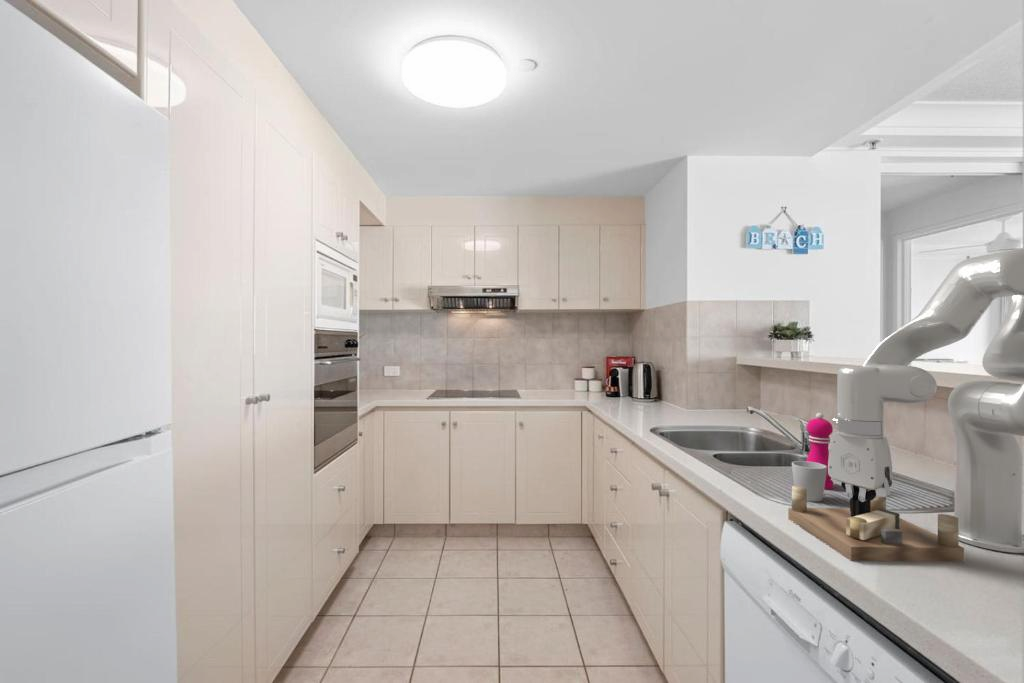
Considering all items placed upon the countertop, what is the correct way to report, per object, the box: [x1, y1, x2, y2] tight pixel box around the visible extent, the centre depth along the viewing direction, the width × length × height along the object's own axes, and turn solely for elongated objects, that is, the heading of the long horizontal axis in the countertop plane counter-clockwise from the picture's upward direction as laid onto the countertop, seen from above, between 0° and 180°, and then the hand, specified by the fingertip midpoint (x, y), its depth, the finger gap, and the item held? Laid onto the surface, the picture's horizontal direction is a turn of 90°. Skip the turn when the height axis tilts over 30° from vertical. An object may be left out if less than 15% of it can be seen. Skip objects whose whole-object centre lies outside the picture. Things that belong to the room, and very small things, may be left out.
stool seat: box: [787, 485, 965, 563], centre depth 95 cm, size 20×20×8 cm
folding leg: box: [846, 509, 900, 540], centre depth 91 cm, size 12×3×3 cm, turn 115°
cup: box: [791, 460, 827, 503], centre depth 121 cm, size 8×10×8 cm
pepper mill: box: [805, 412, 834, 490], centre depth 130 cm, size 7×7×20 cm
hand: (860, 518), depth 95 cm, fingers closed
